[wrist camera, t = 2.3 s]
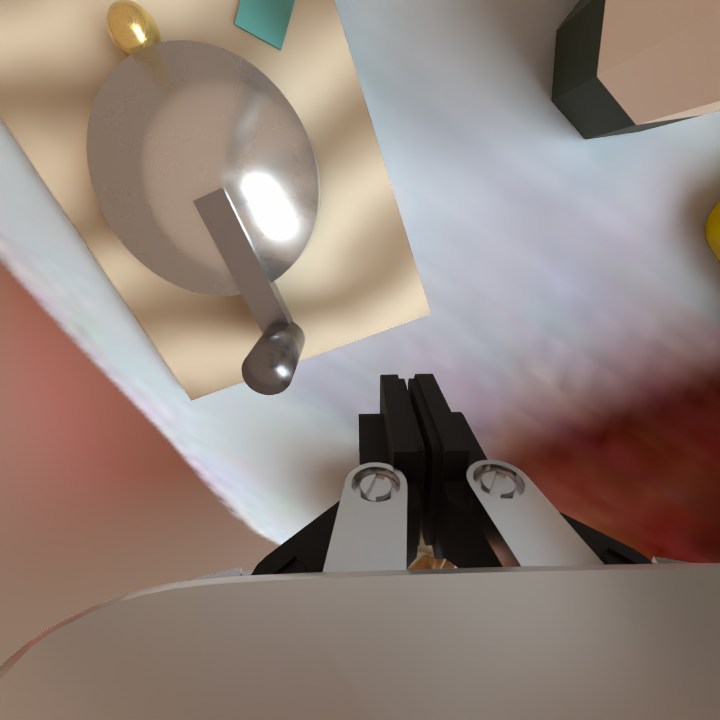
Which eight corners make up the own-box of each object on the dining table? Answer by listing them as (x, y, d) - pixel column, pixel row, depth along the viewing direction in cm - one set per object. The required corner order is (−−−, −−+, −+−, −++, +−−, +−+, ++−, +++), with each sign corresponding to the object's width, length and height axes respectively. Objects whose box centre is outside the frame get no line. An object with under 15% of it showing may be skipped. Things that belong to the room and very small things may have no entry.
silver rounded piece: (37, 70, 18) (-126, 0, 12) (242, -43, 16) (176, -189, 10) (222, 374, 25) (180, 427, 19) (377, 316, 24) (385, 355, 18)
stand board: (-40, 25, 19) (-76, 9, 17) (280, -163, 16) (272, -202, 15) (199, 390, 28) (190, 401, 26) (426, 307, 25) (431, 314, 24)
